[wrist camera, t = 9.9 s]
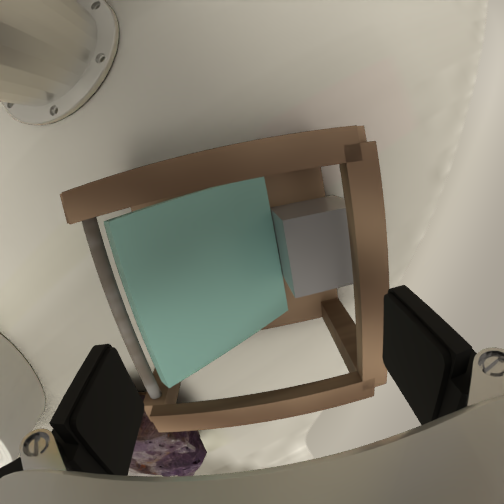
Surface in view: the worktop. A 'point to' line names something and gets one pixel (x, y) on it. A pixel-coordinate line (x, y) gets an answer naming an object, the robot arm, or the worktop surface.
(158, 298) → the trapdoor
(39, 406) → the toilet paper roll
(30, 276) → the worktop surface
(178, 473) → the rock
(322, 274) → the gray cube
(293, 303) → the frame
